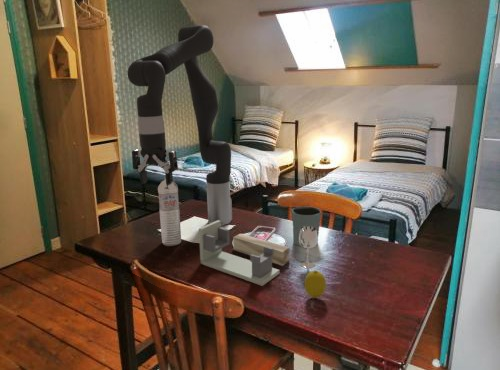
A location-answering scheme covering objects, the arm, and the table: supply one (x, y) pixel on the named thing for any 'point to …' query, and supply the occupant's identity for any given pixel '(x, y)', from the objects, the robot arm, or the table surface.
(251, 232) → the phone case
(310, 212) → the grey plant pot
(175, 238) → the water bottle
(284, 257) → the rail
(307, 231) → the wineglass
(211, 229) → the bracket stand
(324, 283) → the lemon
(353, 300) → the table surface
